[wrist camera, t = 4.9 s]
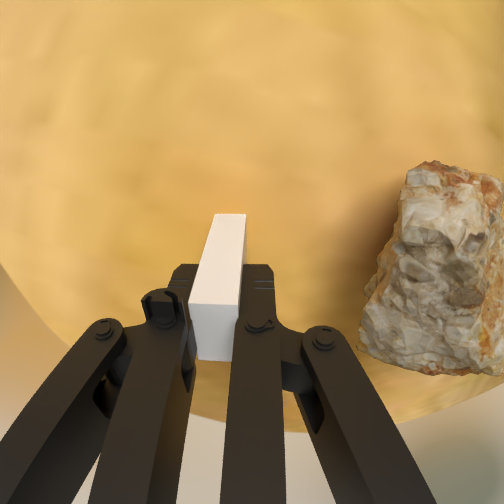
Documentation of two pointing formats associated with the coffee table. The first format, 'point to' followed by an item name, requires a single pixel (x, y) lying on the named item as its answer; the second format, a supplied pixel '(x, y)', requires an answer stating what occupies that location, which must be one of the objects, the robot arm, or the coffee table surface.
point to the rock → (440, 277)
